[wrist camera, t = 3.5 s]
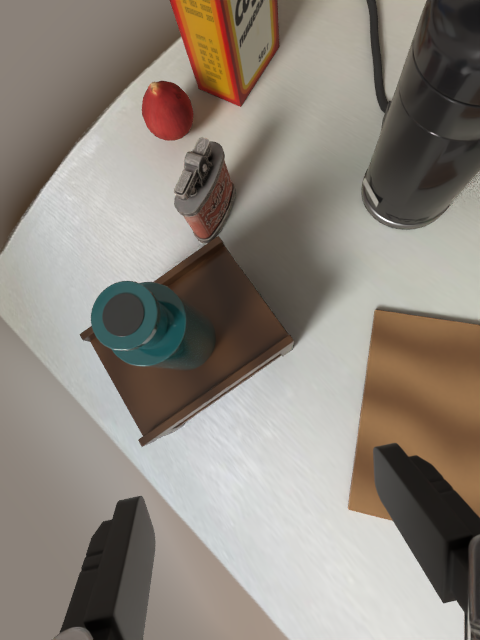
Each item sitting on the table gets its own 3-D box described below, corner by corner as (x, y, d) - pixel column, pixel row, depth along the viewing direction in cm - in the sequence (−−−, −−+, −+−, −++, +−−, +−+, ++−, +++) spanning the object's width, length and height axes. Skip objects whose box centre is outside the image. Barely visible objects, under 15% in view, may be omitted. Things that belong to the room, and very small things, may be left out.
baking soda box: (236, 30, 46) (206, -151, 30) (279, 46, 44) (271, -135, 29) (198, 88, 45) (148, -66, 30) (240, 106, 44) (211, -46, 28)
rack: (233, 264, 40) (218, 235, 32) (294, 349, 37) (294, 340, 29) (121, 343, 41) (79, 334, 33) (173, 433, 38) (141, 447, 30)
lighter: (216, 179, 42) (193, 119, 33) (241, 187, 42) (225, 128, 32) (189, 237, 42) (157, 194, 32) (214, 247, 41) (189, 205, 31)
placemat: (374, 310, 37) (375, 309, 36) (533, 334, 34) (536, 333, 34) (347, 507, 34) (348, 509, 33) (518, 550, 31) (521, 553, 31)
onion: (169, 109, 45) (142, 52, 37) (207, 121, 44) (189, 65, 36) (149, 147, 45) (118, 98, 37) (188, 160, 43) (165, 112, 36)
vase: (163, 304, 33) (91, 261, 21) (221, 313, 32) (179, 274, 20) (149, 364, 32) (66, 354, 21) (208, 376, 31) (157, 372, 20)
